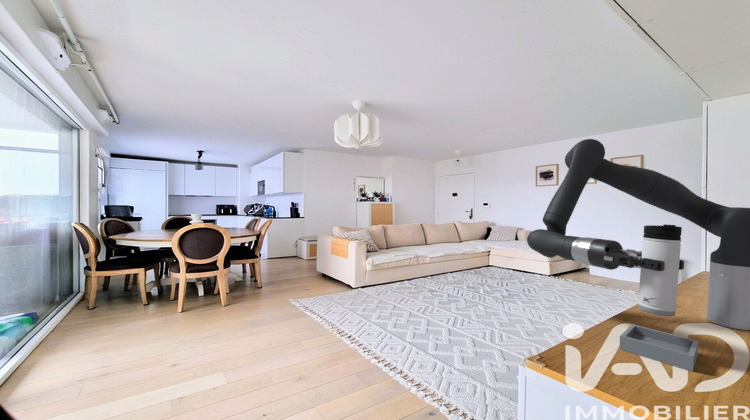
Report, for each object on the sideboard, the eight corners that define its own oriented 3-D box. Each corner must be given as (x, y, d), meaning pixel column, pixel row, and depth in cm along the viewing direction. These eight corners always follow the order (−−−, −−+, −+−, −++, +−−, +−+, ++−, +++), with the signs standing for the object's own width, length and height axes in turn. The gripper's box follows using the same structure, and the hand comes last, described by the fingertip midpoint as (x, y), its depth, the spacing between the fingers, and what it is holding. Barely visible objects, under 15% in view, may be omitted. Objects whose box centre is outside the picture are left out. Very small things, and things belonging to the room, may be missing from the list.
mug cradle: (631, 335, 77) (631, 324, 77) (698, 354, 68) (698, 341, 68) (619, 348, 69) (620, 335, 69) (692, 371, 61) (693, 356, 60)
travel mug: (645, 314, 67) (652, 224, 66) (633, 304, 73) (639, 222, 73) (682, 319, 65) (690, 225, 64) (666, 309, 71) (672, 223, 70)
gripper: (577, 238, 80) (653, 249, 64) (615, 238, 85) (694, 248, 69) (575, 267, 80) (651, 284, 64) (613, 265, 85) (692, 281, 69)
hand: (673, 265), depth 67 cm, fingers closed on travel mug, 6 cm apart
